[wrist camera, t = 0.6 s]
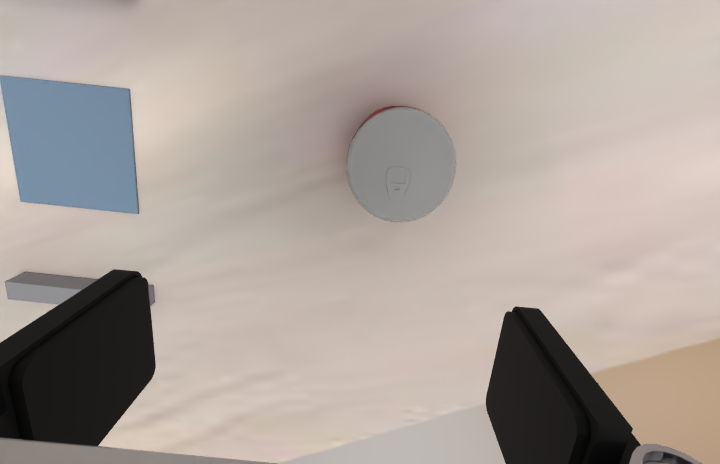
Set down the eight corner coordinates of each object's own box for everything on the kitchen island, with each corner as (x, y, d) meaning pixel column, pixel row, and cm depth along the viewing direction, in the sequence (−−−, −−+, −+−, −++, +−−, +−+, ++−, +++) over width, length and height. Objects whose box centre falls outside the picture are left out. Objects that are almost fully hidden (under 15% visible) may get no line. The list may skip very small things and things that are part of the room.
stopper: (25, 271, 43) (4, 281, 41) (153, 285, 43) (140, 296, 41) (27, 288, 44) (8, 299, 42) (154, 302, 44) (141, 313, 42)
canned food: (361, 197, 40) (356, 231, 29) (346, 113, 37) (335, 118, 27) (439, 184, 39) (462, 214, 28) (429, 98, 36) (450, 97, 26)
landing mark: (1, 75, 37) (-1, 75, 37) (129, 89, 37) (128, 88, 37) (22, 201, 41) (20, 201, 41) (139, 213, 41) (137, 214, 41)
